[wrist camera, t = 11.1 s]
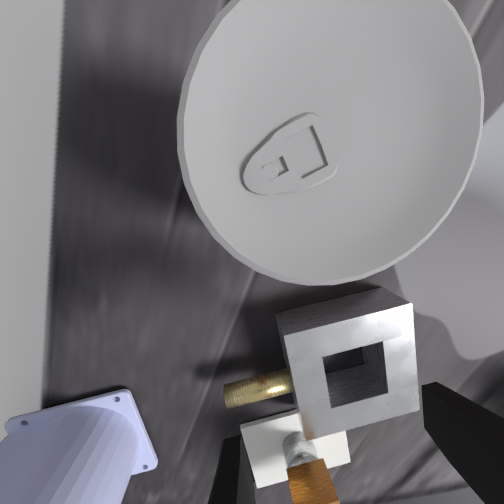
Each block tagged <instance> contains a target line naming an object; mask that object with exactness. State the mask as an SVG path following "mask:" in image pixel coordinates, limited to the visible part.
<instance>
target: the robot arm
mask: <svg viewBox="0 0 504 504" xmlns="http://www.w3.org/2000/svg"><path fill="white" fill-rule="evenodd" d="M116 397H119V398H116ZM422 401H423V416H424V428H425V429H426V431H427V432H428V433H429V435H430V436H431V438H432V439H433V441H434V442H435V443H436V445H437V446H438V448H439V449H440V450H441V452H442V453H443V454H444V456H445V457H446V458H447V460H448V461H449V462H450V463H451V465H452V466H453V467H454V468H455V469H456V470H457V472H458V473H459V474H460V475H461V476H462V477H463V479H464V480H465V481H466V482H467V483H468V485H469V486H470V487H471V488H472V489H473V490H474V492H475V493H476V494H477V495H478V496H479V497H480V498H481V500H482V501H483V502H484V503H485V504H504V418H502V417H500V416H498V415H496V414H494V413H493V412H491V411H489V410H487V409H485V408H483V407H482V406H480V405H478V404H476V403H474V402H472V401H471V400H469V399H467V398H465V397H463V396H462V395H460V394H458V393H456V392H454V391H453V390H451V389H449V388H447V387H445V386H443V385H442V384H440V383H438V382H433V383H430V384H426V385H422ZM5 429H6V430H7V432H8V435H7V437H5V438H4V440H3V441H2V442H1V443H0V504H121V502H122V499H123V496H124V493H125V491H126V488H127V485H128V482H129V480H130V477H131V475H134V474H138V473H141V472H145V471H149V470H152V469H154V468H156V466H157V463H158V459H157V456H156V454H155V451H154V449H153V446H152V444H151V441H150V439H149V436H148V434H147V431H146V429H145V426H144V424H143V421H142V419H141V416H140V414H139V411H138V409H137V406H136V404H135V401H134V399H133V396H132V394H131V392H130V391H129V390H128V389H121V390H117V391H113V392H109V393H105V394H101V395H97V396H94V397H90V398H86V399H82V400H78V401H74V402H70V403H66V404H62V405H58V406H55V407H51V408H47V409H43V410H39V411H35V412H31V413H28V414H23V415H20V416H16V417H12V418H10V419H9V420H8V421H7V422H6V423H5ZM208 504H256V503H255V494H254V485H253V477H252V473H251V469H250V466H249V462H248V459H247V455H246V452H245V448H244V445H243V441H242V438H241V435H238V436H235V437H231V438H227V439H225V440H224V441H223V443H222V448H221V453H220V458H219V462H218V466H217V471H216V475H215V478H214V482H213V486H212V490H211V494H210V497H209V501H208Z"/></svg>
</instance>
